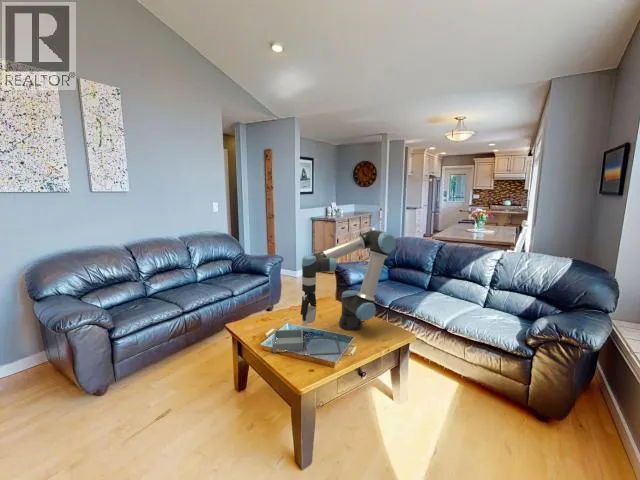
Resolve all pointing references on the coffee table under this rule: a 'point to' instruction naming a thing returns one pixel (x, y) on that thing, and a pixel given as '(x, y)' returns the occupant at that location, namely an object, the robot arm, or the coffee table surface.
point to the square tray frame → (321, 353)
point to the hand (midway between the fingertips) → (308, 321)
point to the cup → (311, 314)
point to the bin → (288, 340)
